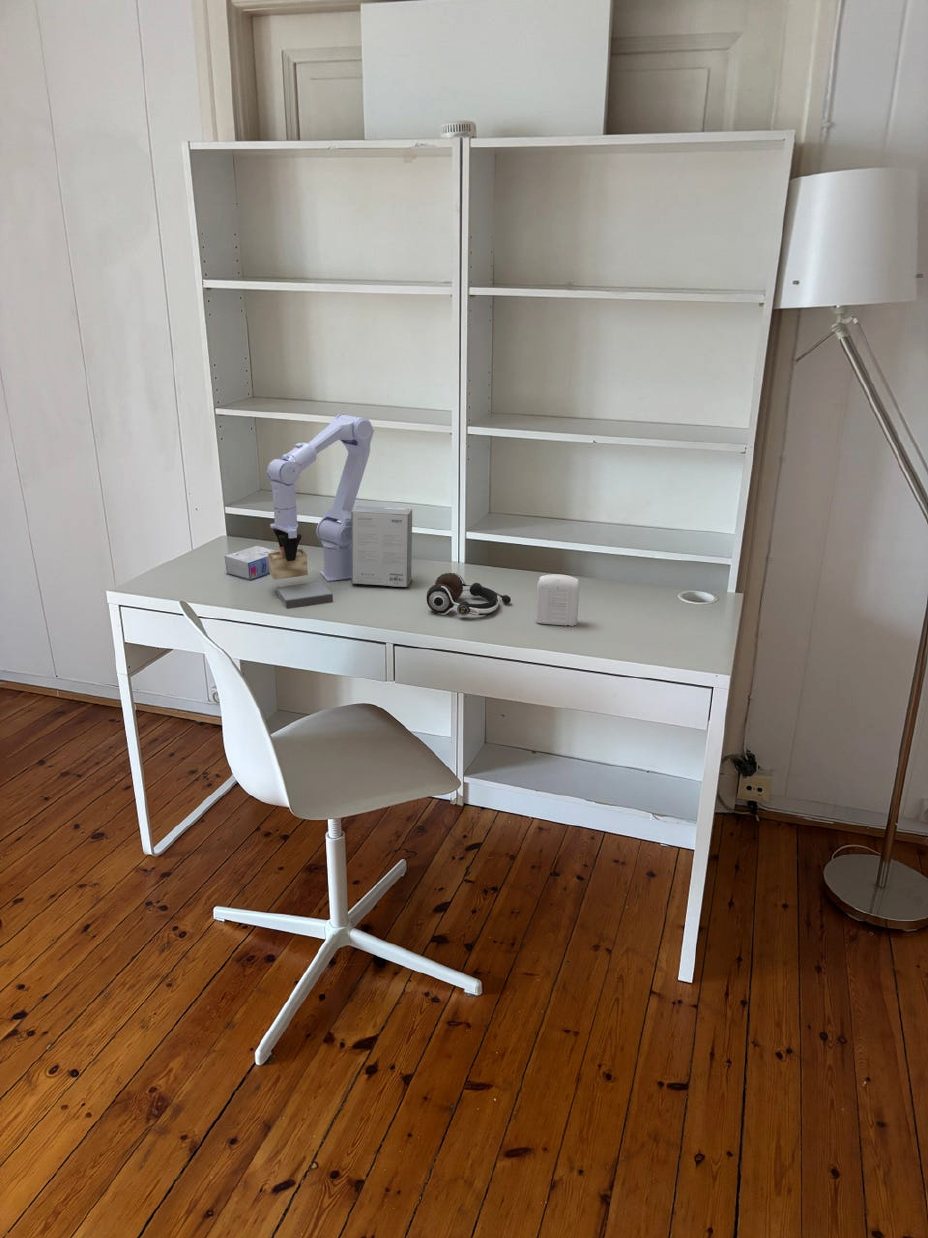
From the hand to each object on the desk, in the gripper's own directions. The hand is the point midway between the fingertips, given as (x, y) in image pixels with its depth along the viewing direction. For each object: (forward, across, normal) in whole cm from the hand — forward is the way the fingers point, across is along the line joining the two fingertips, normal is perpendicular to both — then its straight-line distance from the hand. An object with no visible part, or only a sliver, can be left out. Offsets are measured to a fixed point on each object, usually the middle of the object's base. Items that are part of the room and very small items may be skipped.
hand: (288, 557), depth 236 cm
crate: (0, 0, 0) cm, 1 cm away
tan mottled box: (+5, 0, 0) cm, 5 cm away
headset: (+10, +28, +39) cm, 49 cm away
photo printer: (+10, +46, +55) cm, 72 cm away
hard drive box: (+9, +4, +24) cm, 26 cm away
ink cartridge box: (+7, -16, -11) cm, 21 cm away
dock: (+9, +6, +2) cm, 11 cm away
